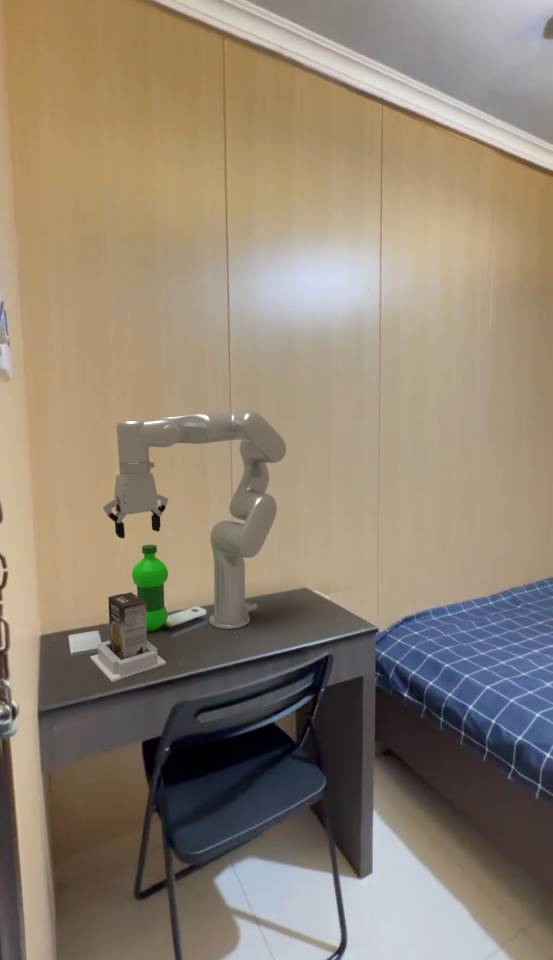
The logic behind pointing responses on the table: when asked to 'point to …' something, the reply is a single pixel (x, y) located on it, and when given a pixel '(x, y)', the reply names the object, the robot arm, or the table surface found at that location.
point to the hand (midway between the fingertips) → (138, 533)
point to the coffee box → (127, 625)
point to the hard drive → (84, 643)
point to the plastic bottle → (151, 586)
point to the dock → (125, 662)
